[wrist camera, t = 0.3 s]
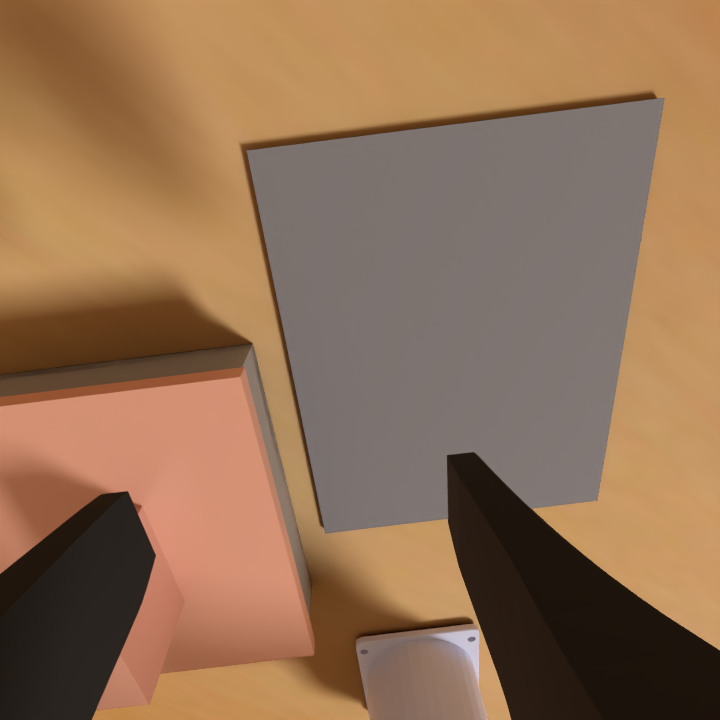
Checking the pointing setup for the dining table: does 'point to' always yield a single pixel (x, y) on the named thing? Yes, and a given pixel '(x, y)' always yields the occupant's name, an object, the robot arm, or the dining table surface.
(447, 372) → the mat
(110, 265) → the dining table surface
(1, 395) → the tub
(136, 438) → the lid
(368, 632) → the dining table surface
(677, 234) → the dining table surface
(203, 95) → the dining table surface
